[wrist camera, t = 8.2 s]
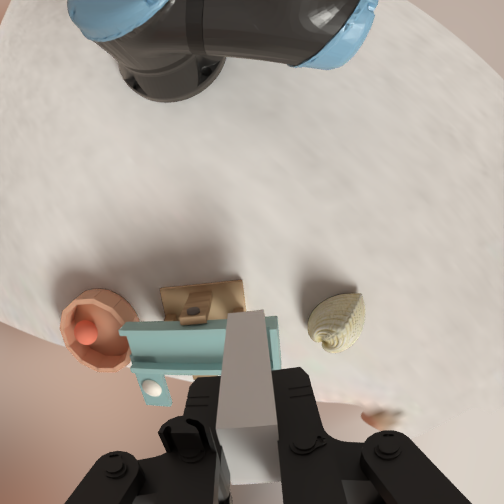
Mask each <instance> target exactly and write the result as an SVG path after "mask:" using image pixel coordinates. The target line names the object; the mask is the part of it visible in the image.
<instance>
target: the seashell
mask: <svg viewBox="0 0 504 504" xmlns="http://www.w3.org/2000/svg"><path fill="white" fill-rule="evenodd" d="M364 321H365V305H364V301H363V296H362V294H361V293H357V294H354V293H352V294H340V295H337V296H333V297H331V298H328V299H326V300H325V301H323V302H322V303H320V304H319V305H318V306H317V307H316V308H315V309H314V310H313V312H312V313H311V315H310V318H309V320H308V334H309V336H310V337H311V339H312V340H313V341H315V342H322V347H323V349H324V350H325V351H327V352H330V353H338V352H342V351H344V350H346V349H347V348H349V347H350V346H352V345H353V344H354V343H355V341H356V340H357V339H358V337H359V336H360V334H361V332H362V329H363V326H364Z"/></svg>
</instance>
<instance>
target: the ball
mask: <svg viewBox="0 0 504 504" xmlns="http://www.w3.org/2000/svg"><path fill="white" fill-rule="evenodd" d="M74 335H75V338H76V339H77V341H78V342H79V343H81V344H83V345H90V344H92V343H94V342H95V341H96V339H97V336H98V331H97V328H96V326H95V325H94V323H92V322H91V321H88V320H82V321H80V322H78V323H77V324H76V326H75V329H74Z"/></svg>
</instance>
